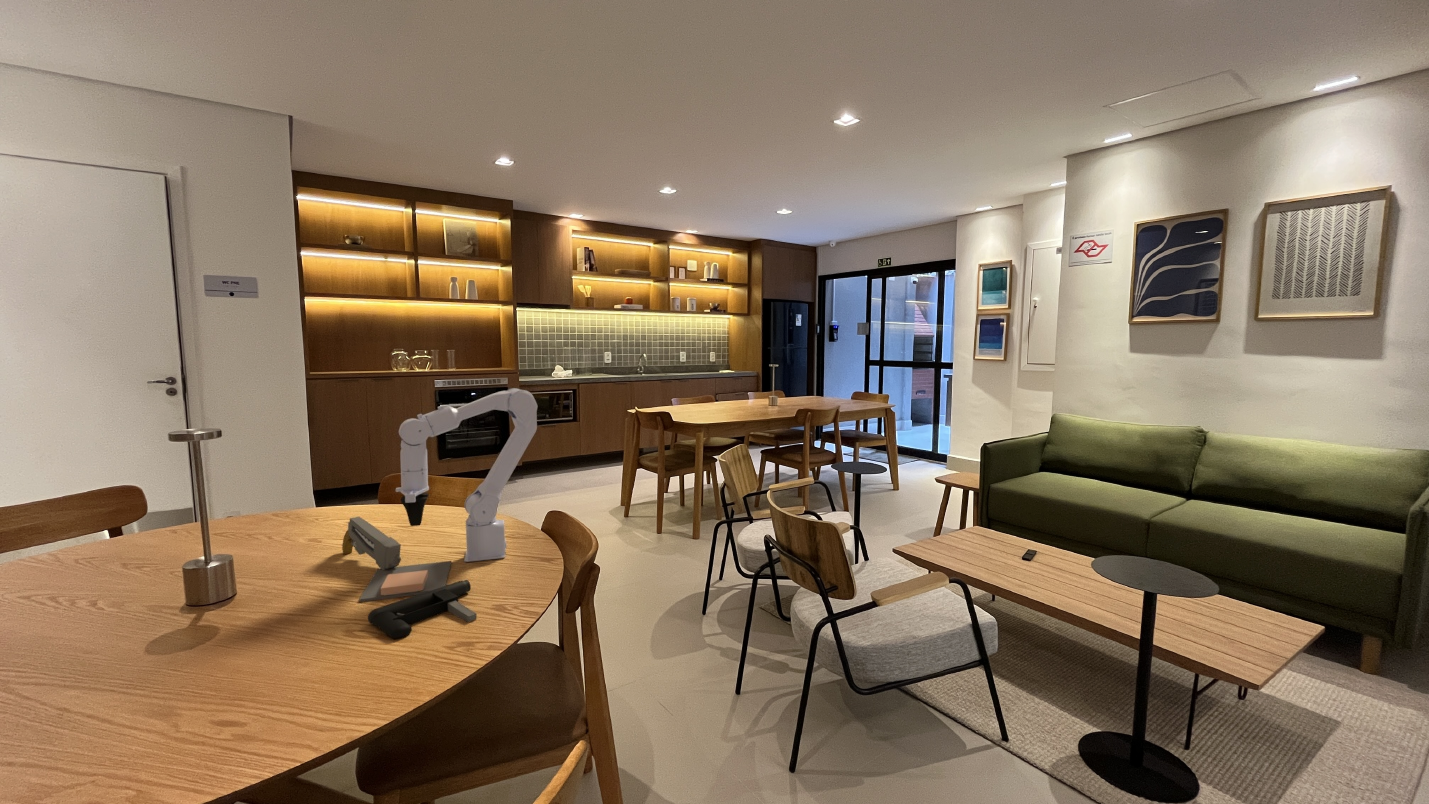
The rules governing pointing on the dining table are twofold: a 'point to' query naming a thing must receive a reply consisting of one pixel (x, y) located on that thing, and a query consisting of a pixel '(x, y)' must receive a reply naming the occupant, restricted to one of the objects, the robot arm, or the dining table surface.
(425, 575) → the tile
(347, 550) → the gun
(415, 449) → the robot arm
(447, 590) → the door handle
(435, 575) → the mat
